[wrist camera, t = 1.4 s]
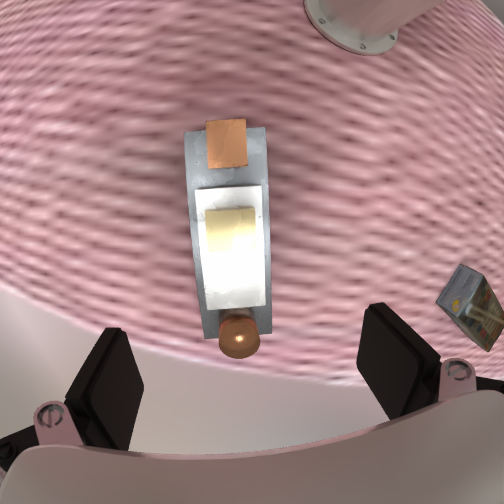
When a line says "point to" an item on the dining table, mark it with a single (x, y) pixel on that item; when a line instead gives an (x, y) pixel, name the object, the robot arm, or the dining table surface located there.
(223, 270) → the white box
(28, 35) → the dining table surface
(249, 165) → the plane body
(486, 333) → the beverage carton
